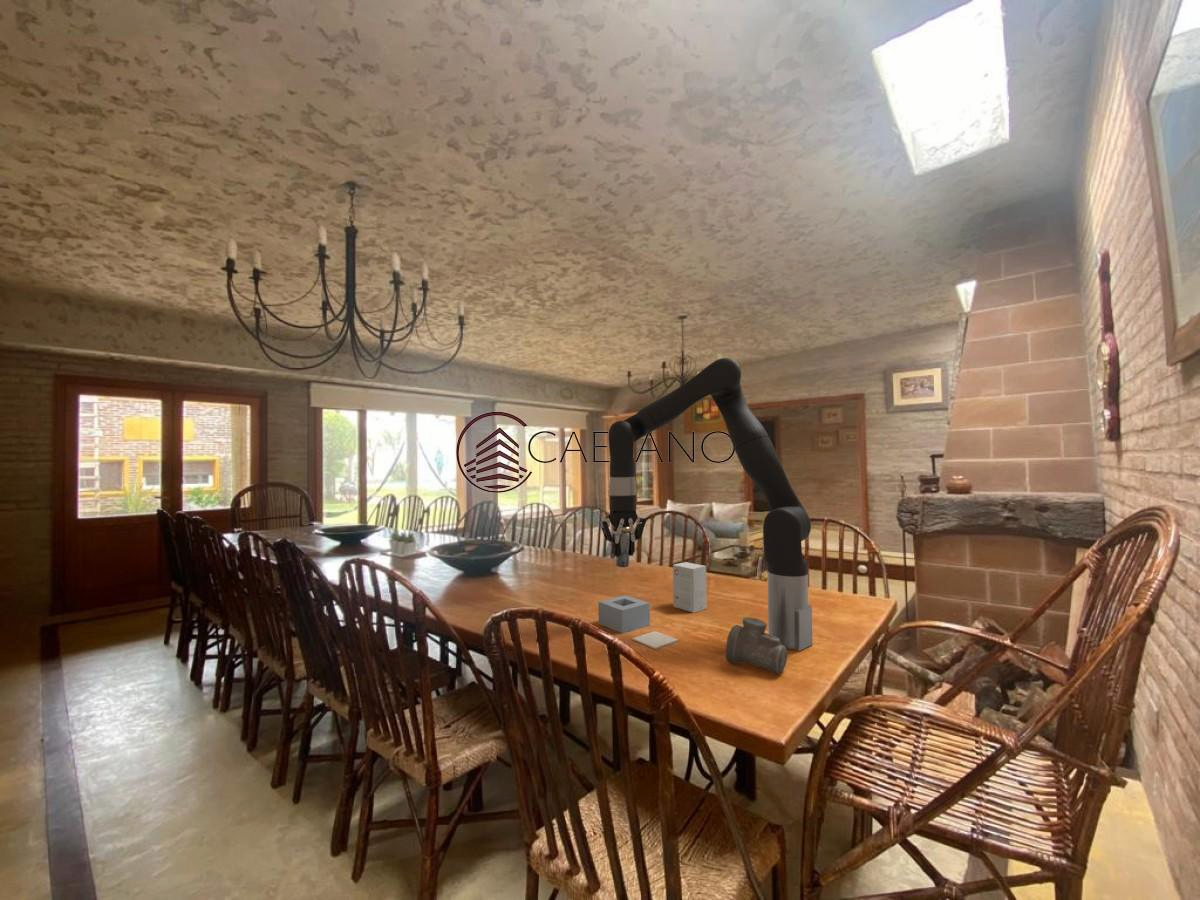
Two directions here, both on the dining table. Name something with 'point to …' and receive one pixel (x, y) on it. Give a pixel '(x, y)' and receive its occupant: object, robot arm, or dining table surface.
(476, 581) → the dining table surface
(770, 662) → the pipe fitting
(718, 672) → the dining table surface
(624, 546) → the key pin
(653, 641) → the coaster
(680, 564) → the small box
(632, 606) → the block
